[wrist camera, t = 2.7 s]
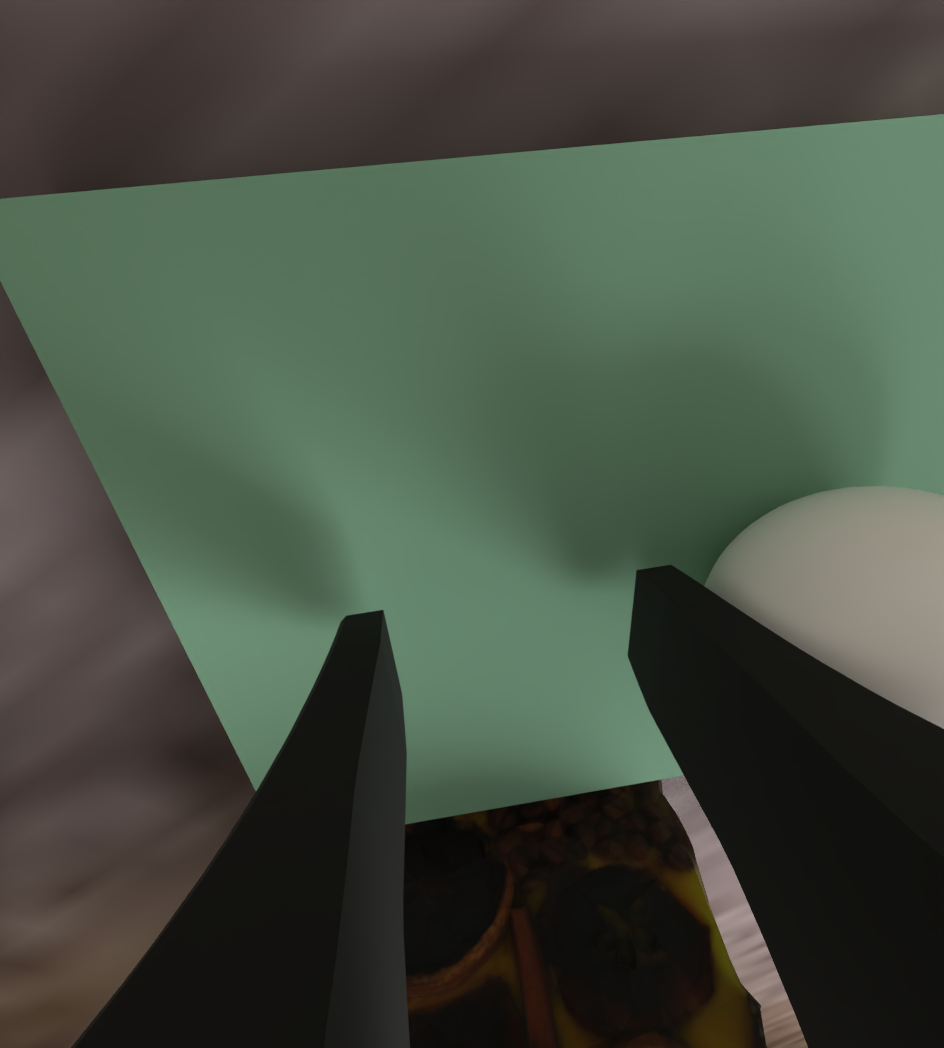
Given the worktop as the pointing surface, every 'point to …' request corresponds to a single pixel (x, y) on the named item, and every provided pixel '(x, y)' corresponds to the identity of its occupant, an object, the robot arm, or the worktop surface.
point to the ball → (851, 586)
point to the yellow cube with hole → (567, 930)
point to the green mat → (486, 410)
